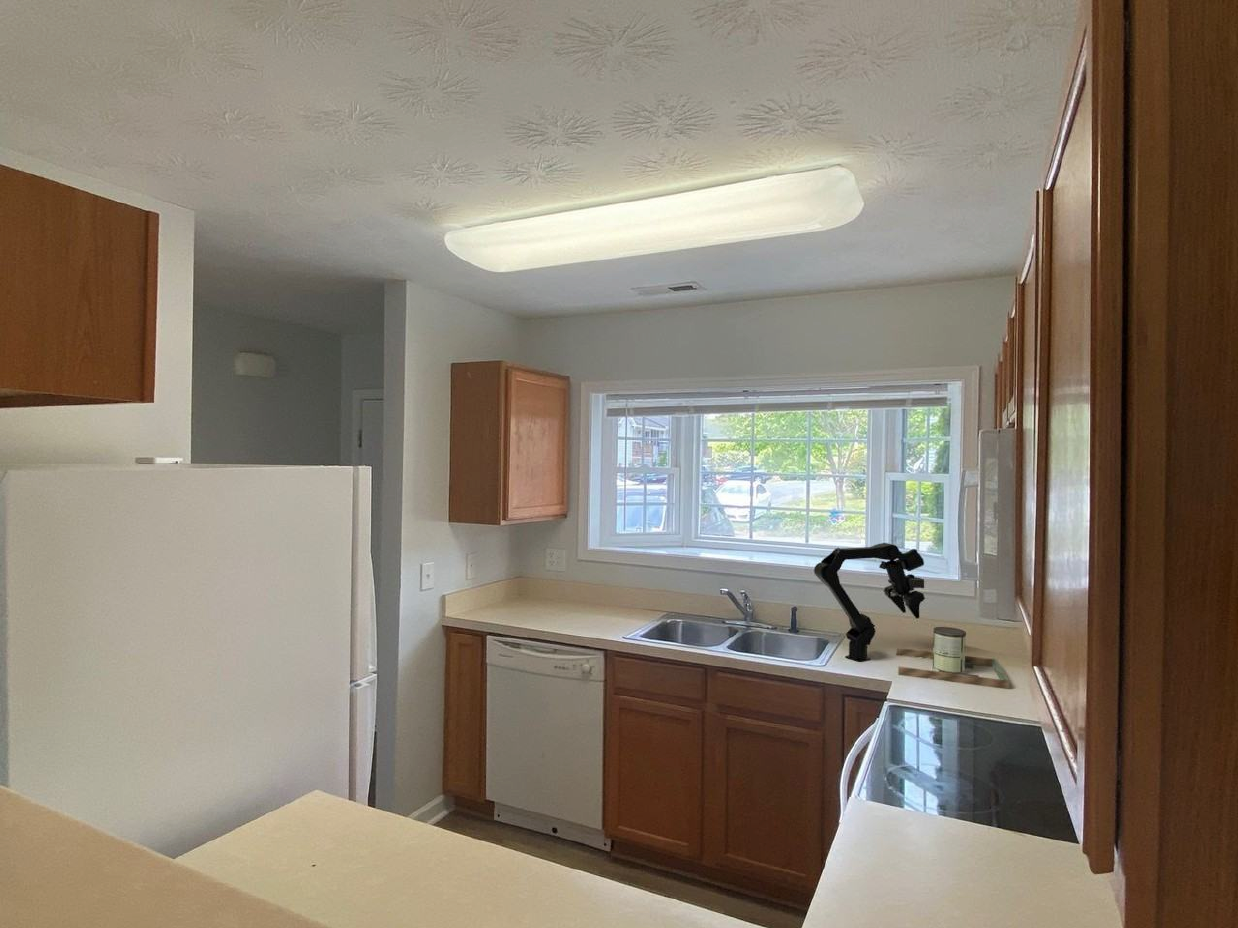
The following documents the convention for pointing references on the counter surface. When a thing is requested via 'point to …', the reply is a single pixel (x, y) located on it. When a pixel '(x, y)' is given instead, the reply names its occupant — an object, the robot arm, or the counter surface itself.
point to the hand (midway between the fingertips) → (911, 615)
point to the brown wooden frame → (955, 676)
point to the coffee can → (949, 649)
